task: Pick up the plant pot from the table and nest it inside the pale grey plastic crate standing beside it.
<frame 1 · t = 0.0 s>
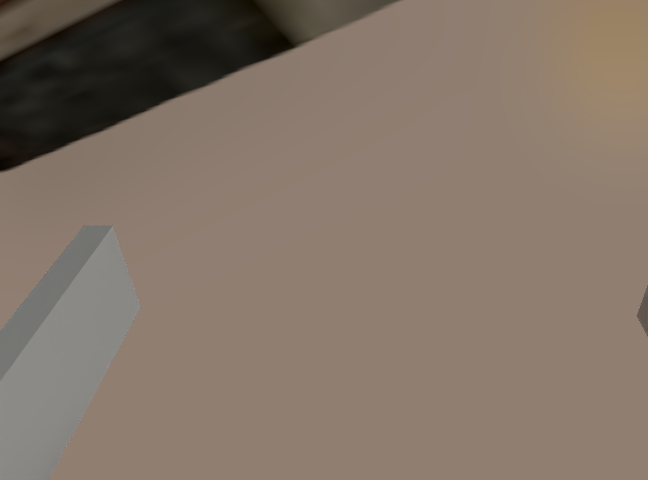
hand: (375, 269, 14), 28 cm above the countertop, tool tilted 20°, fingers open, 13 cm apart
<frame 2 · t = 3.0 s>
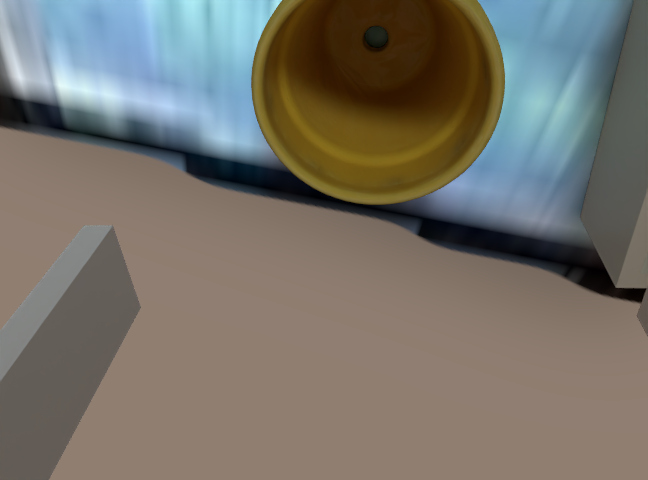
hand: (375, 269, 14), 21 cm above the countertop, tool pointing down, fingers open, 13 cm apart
plant pot: (378, 33, 31), on the countertop
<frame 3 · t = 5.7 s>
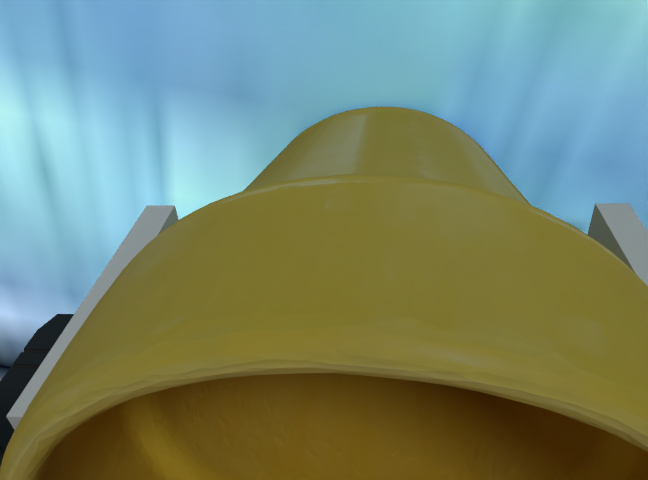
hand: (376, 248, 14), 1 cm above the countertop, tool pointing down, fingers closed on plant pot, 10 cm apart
plant pot: (377, 215, 16), on the countertop, touching gripper
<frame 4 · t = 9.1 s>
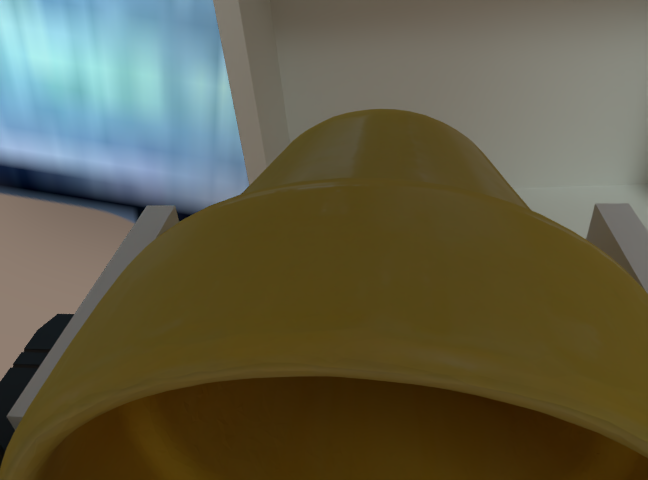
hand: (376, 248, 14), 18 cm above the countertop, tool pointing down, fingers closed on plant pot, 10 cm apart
crate: (471, 45, 29), on the countertop
plant pot: (376, 217, 16), point 16 cm above the countertop, touching gripper
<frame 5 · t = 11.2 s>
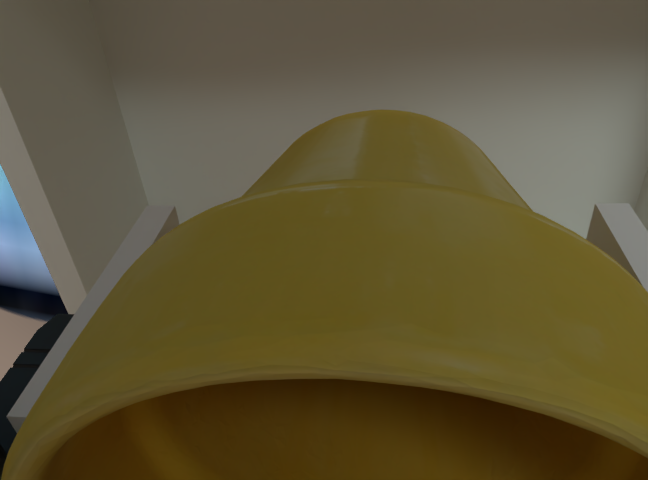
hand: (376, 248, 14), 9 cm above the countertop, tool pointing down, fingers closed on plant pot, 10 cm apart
crate: (380, 109, 21), on the countertop
plant pot: (378, 217, 16), point 7 cm above the countertop, touching gripper
when the fingers open (3 cm above the countertop, at t = 12.8 s): plant pot stays where it is, resting on crate.
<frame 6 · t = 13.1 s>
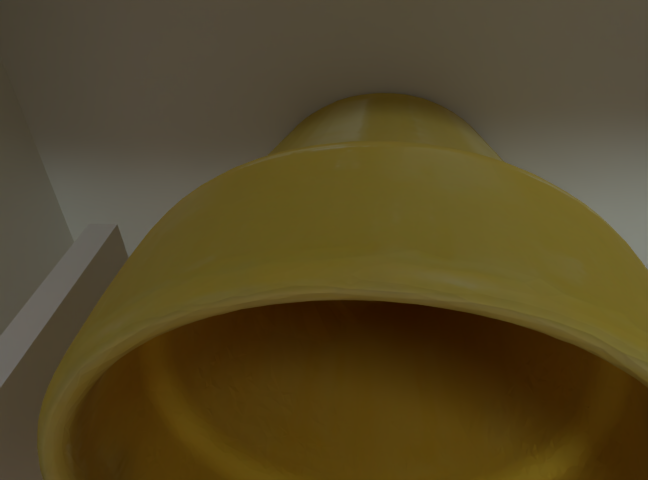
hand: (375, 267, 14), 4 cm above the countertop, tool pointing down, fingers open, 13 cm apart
crate: (378, 184, 17), on the countertop
plant pot: (377, 199, 16), point 1 cm above the countertop, touching crate
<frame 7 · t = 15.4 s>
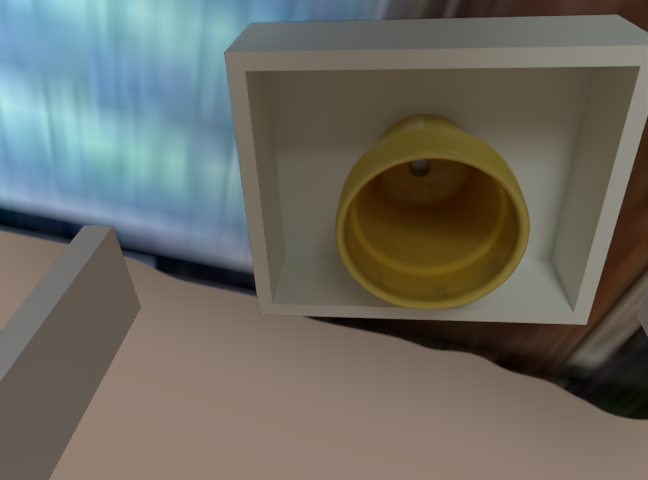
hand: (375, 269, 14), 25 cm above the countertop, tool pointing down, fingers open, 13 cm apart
crate: (420, 154, 39), on the countertop
plant pot: (420, 159, 38), point 1 cm above the countertop, touching crate
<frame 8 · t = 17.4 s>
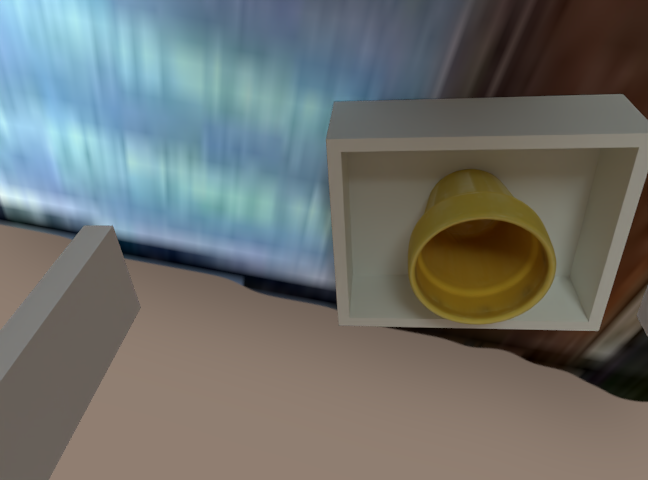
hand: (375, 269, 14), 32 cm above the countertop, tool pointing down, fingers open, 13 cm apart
crate: (464, 197, 48), on the countertop
plant pot: (465, 201, 48), point 1 cm above the countertop, touching crate
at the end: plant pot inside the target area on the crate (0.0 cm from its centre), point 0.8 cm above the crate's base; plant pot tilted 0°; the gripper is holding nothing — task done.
